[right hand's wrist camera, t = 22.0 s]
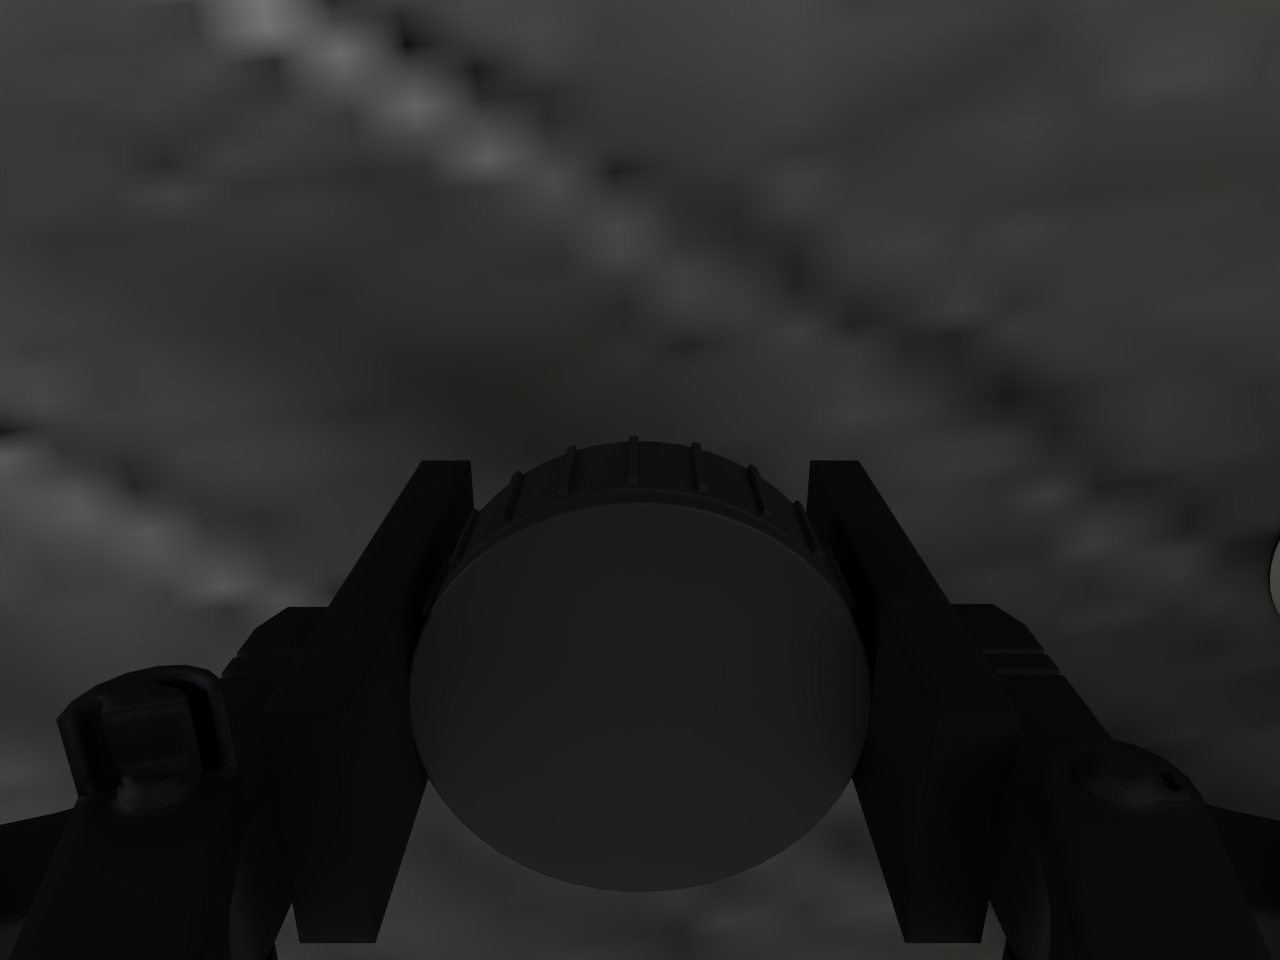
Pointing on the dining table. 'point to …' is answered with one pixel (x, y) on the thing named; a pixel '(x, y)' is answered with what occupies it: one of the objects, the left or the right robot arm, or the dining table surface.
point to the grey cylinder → (1275, 578)
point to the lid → (639, 670)
